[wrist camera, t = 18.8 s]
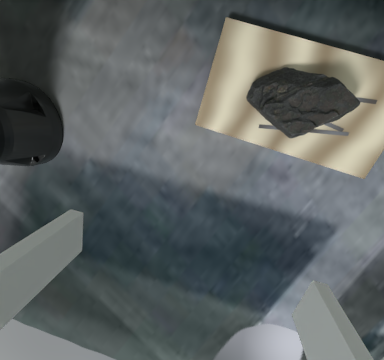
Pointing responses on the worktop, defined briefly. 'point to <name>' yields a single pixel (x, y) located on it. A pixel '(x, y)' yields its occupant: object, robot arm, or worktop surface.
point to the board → (303, 61)
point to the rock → (300, 100)
